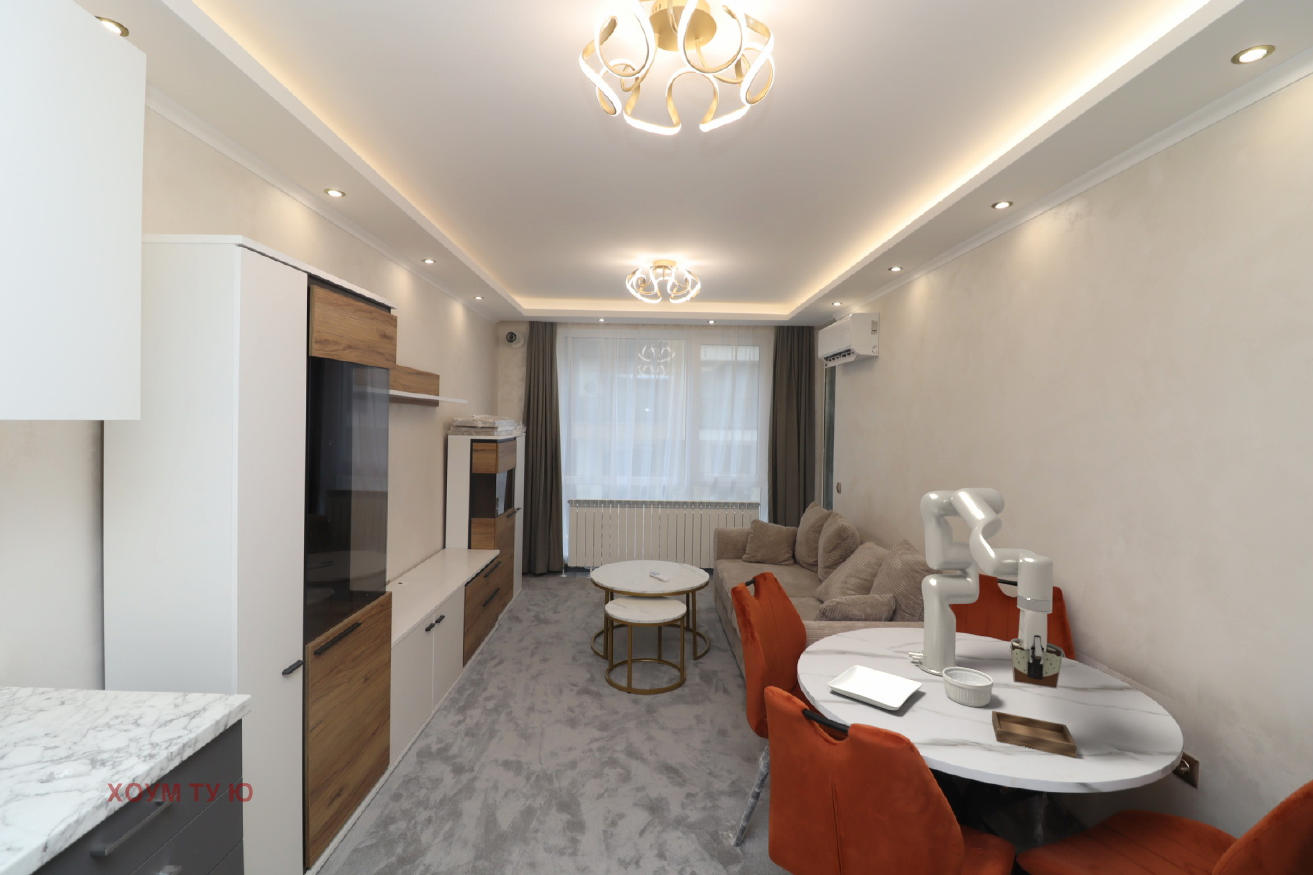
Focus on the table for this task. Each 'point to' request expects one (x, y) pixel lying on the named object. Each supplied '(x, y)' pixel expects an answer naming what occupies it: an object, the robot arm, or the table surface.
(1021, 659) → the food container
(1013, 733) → the tray
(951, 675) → the ramekin
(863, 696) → the salad plate
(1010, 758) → the table surface
